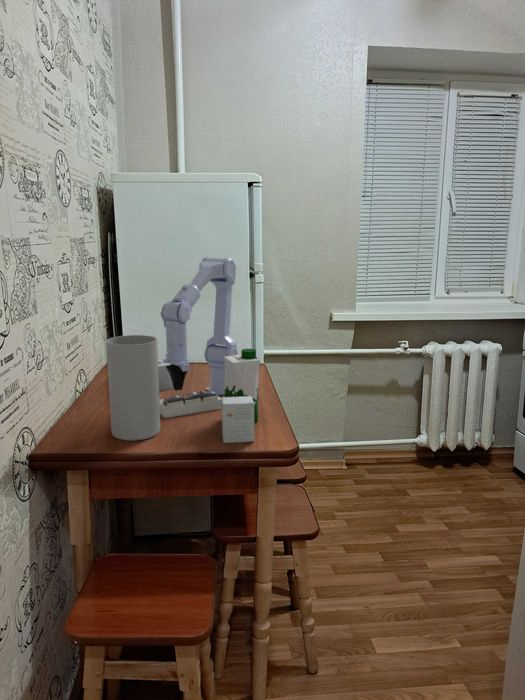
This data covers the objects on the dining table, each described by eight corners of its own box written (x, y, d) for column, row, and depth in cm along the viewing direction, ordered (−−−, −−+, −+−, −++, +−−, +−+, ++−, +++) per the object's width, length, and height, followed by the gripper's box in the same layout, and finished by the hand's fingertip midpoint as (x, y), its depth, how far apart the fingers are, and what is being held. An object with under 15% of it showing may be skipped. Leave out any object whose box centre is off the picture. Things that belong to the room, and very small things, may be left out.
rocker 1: (178, 399, 152) (178, 394, 152) (182, 402, 150) (181, 397, 149) (164, 402, 150) (163, 397, 150) (167, 405, 148) (167, 400, 147)
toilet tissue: (186, 385, 179) (186, 361, 177) (153, 393, 170) (152, 367, 168) (172, 379, 185) (171, 356, 183) (139, 387, 176) (138, 362, 175)
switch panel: (223, 399, 164) (223, 387, 163) (234, 406, 157) (234, 393, 157) (155, 409, 154) (155, 397, 153) (164, 418, 147) (163, 404, 146)
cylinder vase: (162, 439, 132) (159, 343, 127) (112, 444, 129) (106, 346, 123) (158, 422, 144) (154, 334, 138) (111, 426, 140) (106, 336, 135)
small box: (252, 433, 136) (252, 395, 134) (254, 442, 131) (254, 402, 129) (221, 435, 135) (221, 396, 133) (222, 443, 130) (222, 403, 128)
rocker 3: (212, 396, 157) (213, 391, 157) (216, 398, 155) (217, 393, 155) (199, 395, 155) (200, 390, 155) (202, 397, 153) (203, 392, 153)
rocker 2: (196, 395, 155) (195, 391, 154) (199, 398, 152) (198, 393, 152) (182, 400, 153) (181, 396, 152) (186, 403, 151) (185, 398, 150)
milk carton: (262, 422, 144) (262, 352, 140) (231, 426, 141) (231, 355, 137) (250, 412, 152) (250, 346, 148) (221, 416, 149) (220, 348, 144)
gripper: (155, 340, 151) (157, 384, 154) (171, 350, 139) (173, 398, 142) (178, 338, 155) (179, 381, 158) (196, 347, 142) (197, 394, 145)
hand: (178, 389), depth 150 cm, fingers closed
